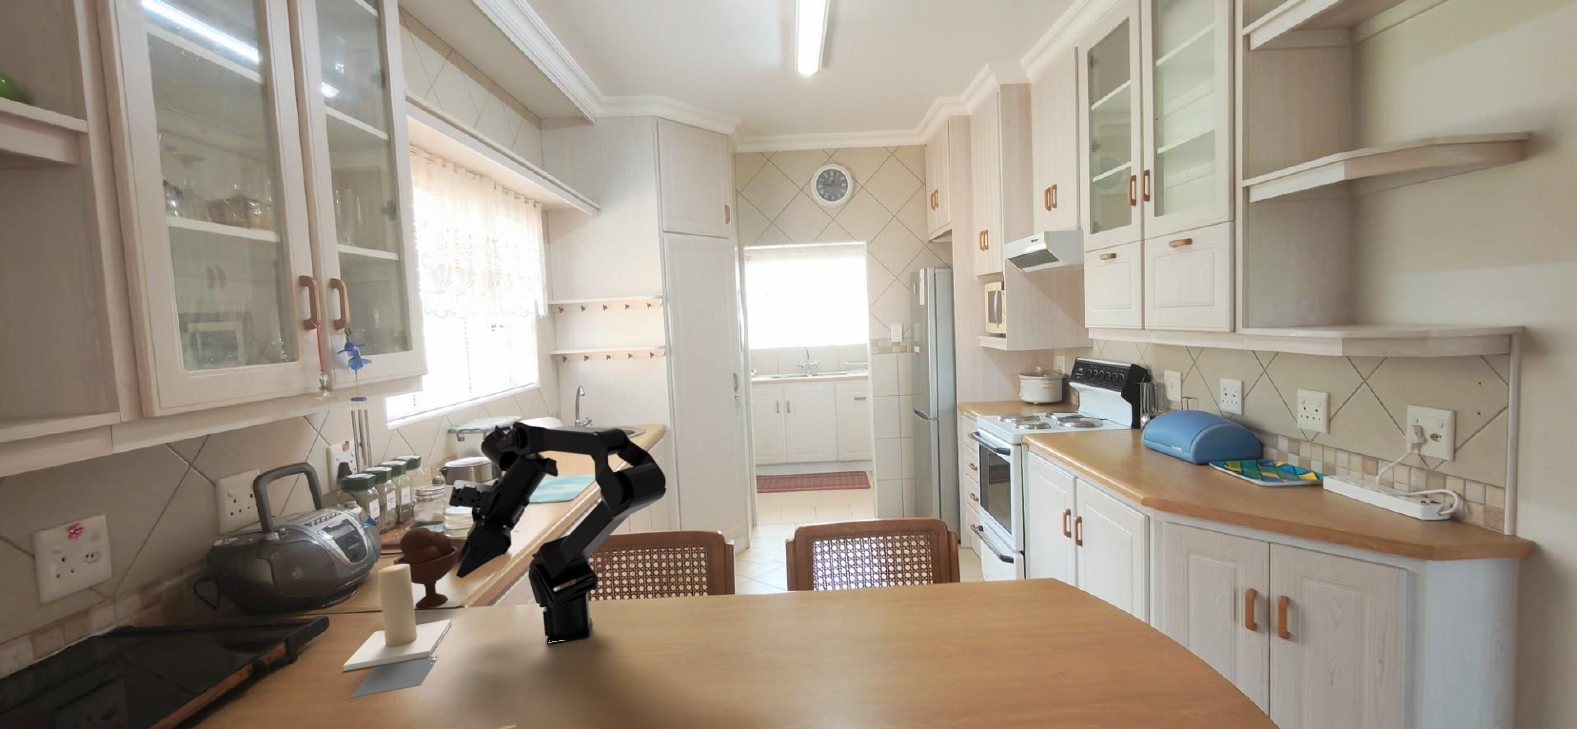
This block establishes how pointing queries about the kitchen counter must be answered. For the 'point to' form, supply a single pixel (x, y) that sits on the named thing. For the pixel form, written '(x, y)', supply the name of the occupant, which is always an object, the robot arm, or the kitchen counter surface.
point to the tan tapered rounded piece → (397, 605)
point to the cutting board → (379, 653)
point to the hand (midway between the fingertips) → (461, 565)
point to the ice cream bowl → (428, 561)
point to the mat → (395, 676)
